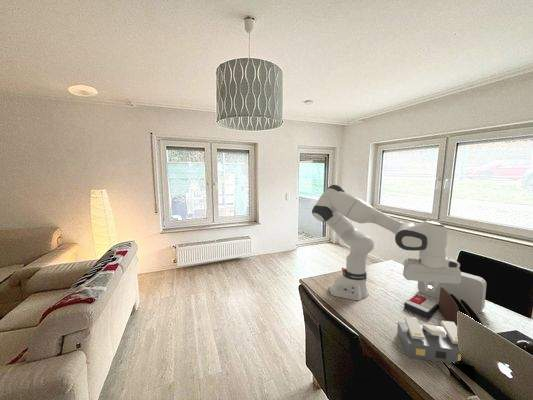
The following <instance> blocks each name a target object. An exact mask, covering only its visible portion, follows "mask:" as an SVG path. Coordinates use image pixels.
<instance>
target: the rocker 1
mask: <svg viewBox="0 0 533 400" xmlns="http://www.w3.org/2000/svg"><path fill="white" fill-rule="evenodd" d="M403 320H404V322H405V323H406V325H407V327H408V330H409V333H410V335H411V338H412V339H420V340H424V339H425V336H424V334H423V332H422V330H421V327H420V325H419V324H420V323H419V321H418V319H417V317H416V316H415V317H414V316H406V315H404V318H403Z"/></svg>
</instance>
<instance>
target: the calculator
mask: <svg viewBox="0 0 533 400" xmlns="http://www.w3.org/2000/svg"><path fill="white" fill-rule="evenodd" d="M403 303H404V305H403V309H404V310H405V311H408V312H410V313H411V314H414V315H416V316H419V317H421V318H422V319H426V320H429V319H430V318H432V316H433V315H434V314H436V312H437V311H439V310H438V304H439V302H437V301H434V300H432V299H429V298H427V297H425V296H422V295H419V294H416V295H414V296H412V297H411V298H409V299H408V300H406V301H405V302H403Z"/></svg>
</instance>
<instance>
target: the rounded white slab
mask: <svg viewBox="0 0 533 400" xmlns="http://www.w3.org/2000/svg"><path fill="white" fill-rule="evenodd" d="M432 284H433V282H428V284H427V285H428V286H431V285H432ZM441 287H443V288H444V289H445V290H446V291H447V292H448V293H449V294H453V295H454V296H455V297H456V298H457V299H458V300H459V301H460V302H461V299H462V300H464V301H465V302H466V303H467V304H468V305H469V306H470V307H471V308H472V310H473V311H474V312H475V313H476V315H477V314H480V313H482V311H483V310H484V309H485V304H486V303H485V302H486V296H487V295H486V293H487V281H486V280H485V279H484V278H483V277H481V276H478V275H474V274H471V273H467V272H463V271H461V282H460V283H459V284H451V283H438V286H437V287H436V288H435V292H432V291H426V290H425V285H424V283H423V281H417V290H418V292H420V293H422V294H424V295H426V296H429V297H431V298H433V299H436V300H439V295H440V288H441Z"/></svg>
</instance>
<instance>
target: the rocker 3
mask: <svg viewBox="0 0 533 400" xmlns="http://www.w3.org/2000/svg"><path fill="white" fill-rule="evenodd" d="M440 325H441V327H443V328H444V330H445V331H446V333H447V335H448V336H449V338H450V340H451V342H452V343H453V344H458V338H457V326H456V325H455V323H454V322H450V321H445V320H441V322H440Z"/></svg>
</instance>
